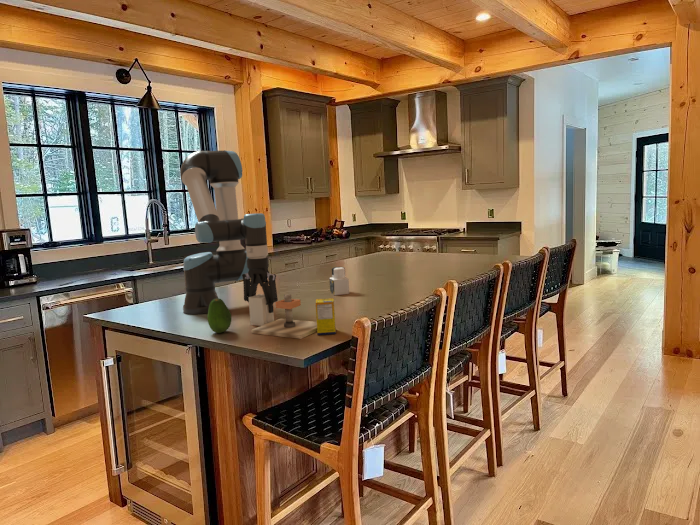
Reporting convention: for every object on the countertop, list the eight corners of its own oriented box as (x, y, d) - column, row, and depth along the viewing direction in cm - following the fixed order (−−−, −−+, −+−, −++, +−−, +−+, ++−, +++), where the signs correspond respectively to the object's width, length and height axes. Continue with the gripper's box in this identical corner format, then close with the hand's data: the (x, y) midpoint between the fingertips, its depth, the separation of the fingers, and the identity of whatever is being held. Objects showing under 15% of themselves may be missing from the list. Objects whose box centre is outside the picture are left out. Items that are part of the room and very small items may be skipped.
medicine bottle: (330, 292, 240) (328, 266, 238) (344, 291, 242) (343, 265, 240) (334, 295, 233) (332, 268, 231) (349, 293, 235) (348, 267, 234)
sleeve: (250, 324, 188) (248, 297, 187) (261, 320, 193) (259, 294, 192) (263, 326, 185) (261, 298, 184) (274, 322, 190) (272, 295, 189)
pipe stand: (251, 333, 176) (249, 298, 175) (280, 321, 190) (277, 289, 188) (301, 338, 167) (298, 301, 165) (327, 326, 180) (325, 291, 179)
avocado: (203, 334, 178) (200, 299, 176) (221, 328, 184) (218, 295, 183) (220, 337, 174) (217, 301, 172) (237, 331, 180) (234, 296, 178)
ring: (275, 308, 176) (275, 302, 176) (286, 304, 181) (286, 298, 181) (290, 309, 173) (290, 303, 173) (300, 305, 178) (300, 299, 178)
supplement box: (335, 329, 175) (333, 297, 174) (335, 334, 170) (333, 301, 168) (317, 330, 175) (315, 298, 174) (317, 335, 169) (315, 302, 168)
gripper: (229, 258, 187) (234, 321, 190) (272, 259, 178) (277, 325, 181) (243, 255, 194) (248, 316, 197) (285, 256, 184) (289, 320, 187)
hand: (262, 320), depth 189 cm, fingers closed on sleeve, 6 cm apart
